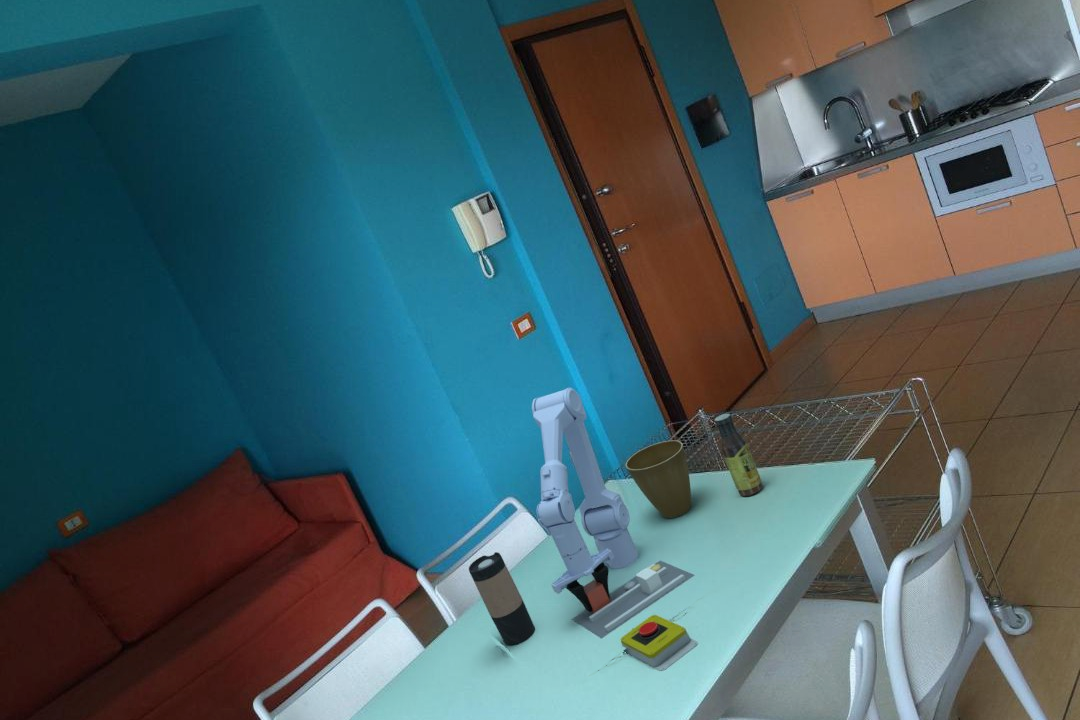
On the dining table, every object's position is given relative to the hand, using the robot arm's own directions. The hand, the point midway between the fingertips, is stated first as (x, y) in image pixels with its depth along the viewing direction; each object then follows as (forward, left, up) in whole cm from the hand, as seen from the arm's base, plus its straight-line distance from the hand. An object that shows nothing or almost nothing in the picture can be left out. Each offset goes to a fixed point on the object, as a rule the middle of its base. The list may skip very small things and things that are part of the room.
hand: (598, 604), depth 194 cm
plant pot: (-23, +36, -2) cm, 43 cm away
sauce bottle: (-10, +50, -2) cm, 51 cm away
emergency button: (+23, 0, -3) cm, 24 cm away
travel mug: (-10, -16, -2) cm, 19 cm away
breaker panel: (+4, +6, -2) cm, 8 cm away
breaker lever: (+7, +10, -1) cm, 12 cm away
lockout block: (0, 0, -1) cm, 1 cm away
